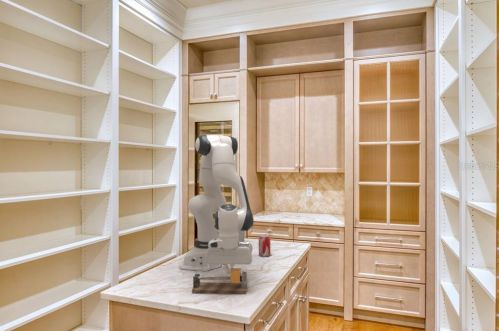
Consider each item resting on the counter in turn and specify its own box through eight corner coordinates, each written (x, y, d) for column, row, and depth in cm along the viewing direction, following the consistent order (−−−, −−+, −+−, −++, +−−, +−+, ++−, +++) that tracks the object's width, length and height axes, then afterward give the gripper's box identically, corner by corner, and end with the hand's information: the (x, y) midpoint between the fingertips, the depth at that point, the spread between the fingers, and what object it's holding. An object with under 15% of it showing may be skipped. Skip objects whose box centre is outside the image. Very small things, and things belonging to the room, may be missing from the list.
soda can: (256, 255, 196) (256, 235, 196) (264, 253, 201) (264, 233, 201) (264, 258, 191) (264, 237, 191) (272, 255, 196) (272, 235, 196)
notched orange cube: (230, 282, 142) (230, 271, 142) (231, 279, 146) (231, 268, 146) (239, 283, 141) (239, 271, 141) (240, 279, 146) (240, 268, 146)
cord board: (192, 293, 140) (191, 275, 140) (196, 285, 149) (196, 269, 149) (245, 294, 139) (245, 276, 139) (247, 286, 148) (247, 269, 148)
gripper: (252, 240, 146) (253, 271, 146) (207, 240, 148) (207, 271, 148) (251, 244, 140) (252, 276, 140) (204, 243, 141) (204, 275, 141)
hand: (229, 273), depth 144 cm, fingers closed
